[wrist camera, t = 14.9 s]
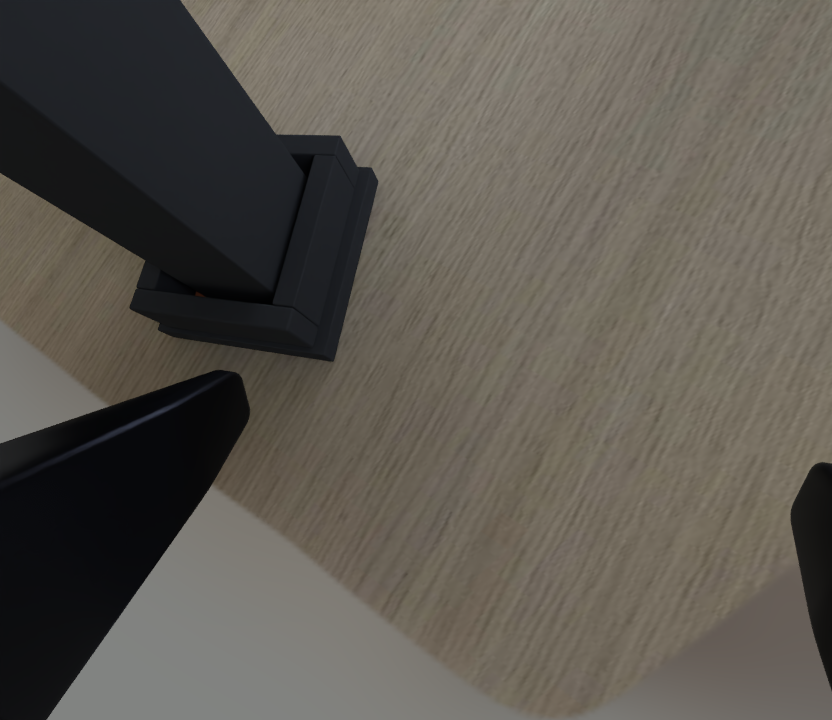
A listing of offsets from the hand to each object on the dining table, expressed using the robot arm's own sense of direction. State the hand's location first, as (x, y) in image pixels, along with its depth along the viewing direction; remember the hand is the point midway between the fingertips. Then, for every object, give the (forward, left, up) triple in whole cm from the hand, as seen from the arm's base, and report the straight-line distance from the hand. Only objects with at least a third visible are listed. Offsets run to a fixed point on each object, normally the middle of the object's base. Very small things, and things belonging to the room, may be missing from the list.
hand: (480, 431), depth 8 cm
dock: (+7, +11, -10) cm, 17 cm away
